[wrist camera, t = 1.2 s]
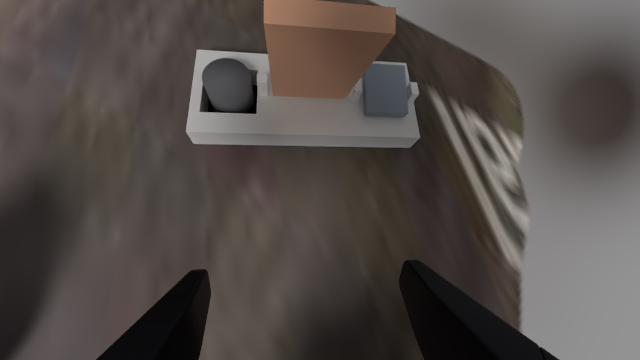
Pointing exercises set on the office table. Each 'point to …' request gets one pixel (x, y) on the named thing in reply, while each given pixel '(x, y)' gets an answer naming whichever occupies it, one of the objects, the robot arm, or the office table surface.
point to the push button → (228, 86)
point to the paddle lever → (323, 45)
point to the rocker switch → (385, 91)
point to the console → (295, 114)
